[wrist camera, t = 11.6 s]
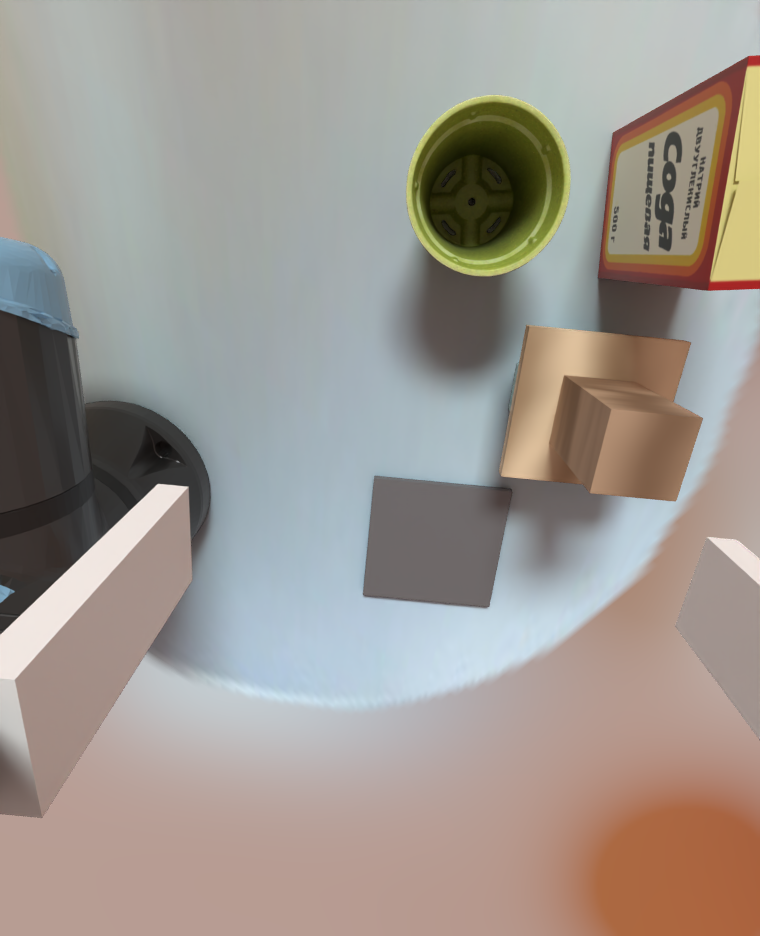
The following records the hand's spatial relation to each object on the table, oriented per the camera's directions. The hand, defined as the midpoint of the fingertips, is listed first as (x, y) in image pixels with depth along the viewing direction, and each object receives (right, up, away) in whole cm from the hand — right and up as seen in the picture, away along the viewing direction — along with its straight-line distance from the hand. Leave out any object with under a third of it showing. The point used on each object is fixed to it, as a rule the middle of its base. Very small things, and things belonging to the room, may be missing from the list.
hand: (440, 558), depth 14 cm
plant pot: (+5, +22, +26) cm, 34 cm away
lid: (+13, +7, +26) cm, 30 cm away
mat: (+3, -5, +36) cm, 36 cm away
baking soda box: (+18, +21, +25) cm, 38 cm away
